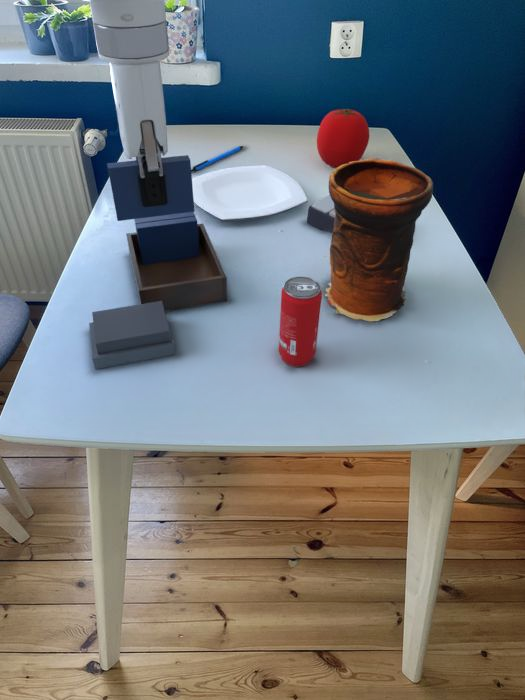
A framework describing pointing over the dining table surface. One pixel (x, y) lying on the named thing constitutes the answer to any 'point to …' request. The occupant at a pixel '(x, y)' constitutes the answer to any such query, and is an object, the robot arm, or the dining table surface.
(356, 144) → the tomato
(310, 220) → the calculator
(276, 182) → the plate
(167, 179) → the blue book
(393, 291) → the vessel
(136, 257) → the book box
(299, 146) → the dining table surface
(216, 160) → the pen
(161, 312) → the grey books
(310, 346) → the beverage can
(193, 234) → the blue books
